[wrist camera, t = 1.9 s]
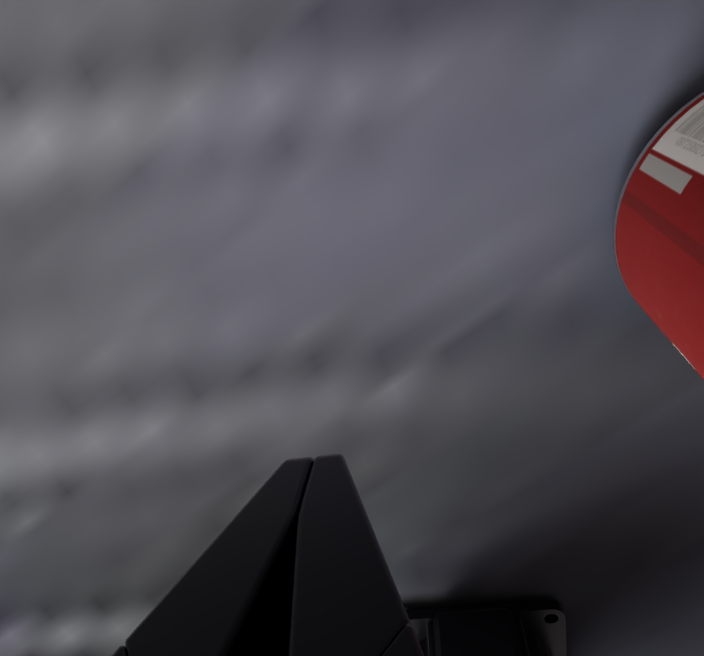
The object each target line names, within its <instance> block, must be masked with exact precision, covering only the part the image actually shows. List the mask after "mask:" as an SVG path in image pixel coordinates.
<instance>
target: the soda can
mask: <svg viewBox="0 0 704 656" xmlns="http://www.w3.org/2000/svg"><path fill="white" fill-rule="evenodd" d="M613 241H614V253H615V258H616V263H617V266H618V270H619V273H620V275H621V278H622V280H623V282H624V284H625V286H626V288H627V289H628V291H629V293H630V294H631V295H632V297H633V298H634V299H635V301H636V302H637V303H638V304H639V305H640V307H641V308H642V309H643V310H644V311H645V312H646V314H647V315H648V316H649V317H650V318H651V319H652V320H653V322H654V323H655V324H656V325H657V326H658V327H659V329H660V330H661V331H662V332H663V333H664V334H665V335H666V337H667V338H668V339H669V340H670V341H671V342H672V344H673V345H674V346H675V347H676V348H677V349H678V350H679V352H680V353H681V354H682V355H683V356H684V357H685V359H686V360H687V361H688V362H689V363H690V364H691V365H692V367H693V368H694V369H695V370H696V371H697V372H698V374H699V375H700V376H701V377H702V378H703V379H704V92H702V93H701V94H699V95H698V96H696V97H695V98H694V99H692V100H691V101H690V102H688V103H687V104H686V105H684V106H683V107H682V108H681V109H680V110H678V111H677V112H676V113H675V114H674V115H673V116H672V117H671V118H670V119H668V121H667V122H666V123H665V124H664V125H663V126H662V127H661V128H660V129H659V130H658V131H657V132H656V133H655V135H654V136H653V137H652V138H651V140H650V141H649V142H648V143H647V145H646V146H645V148H644V149H643V150H642V152H641V153H640V155H639V156H638V158H637V160H636V161H635V163H634V165H633V167H632V169H631V170H630V172H629V174H628V177H627V179H626V181H625V183H624V186H623V188H622V191H621V194H620V197H619V200H618V204H617V208H616V213H615V220H614V232H613Z"/></svg>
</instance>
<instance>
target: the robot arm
mask: <svg viewBox="0 0 704 656" xmlns="http://www.w3.org/2000/svg"><path fill="white" fill-rule="evenodd" d="M112 656H567V646H566V617H565V614H564V610H563V607H562V604H560V603H559V602H558V601H555V600H538V601H525V602H511V603H498V604H484V605H471V606H457V607H444V608H431V609H417V610H405V608H404V605H403V603H402V600H401V598H400V595H399V593H398V590H397V588H396V585H395V583H394V580H393V578H392V576H391V573H390V571H389V568H388V566H387V563H386V561H385V558H384V556H383V553H382V551H381V548H380V546H379V543H378V541H377V538H376V536H375V533H374V531H373V528H372V526H371V524H370V521H369V519H368V516H367V514H366V511H365V509H364V506H363V504H362V501H361V499H360V496H359V494H358V491H357V489H356V486H355V484H354V481H353V479H352V476H351V474H350V472H349V469H348V467H347V464H346V462H345V459H344V457H343V456H342V455H341V454H334V455H325V456H318V457H316V458H315V459H313V458H311V457H307V458H297V459H289V460H286V461H285V462H284V463H282V465H281V466H280V467H279V468H278V469H277V470H276V471H275V473H274V474H273V475H272V476H271V477H270V478H269V479H268V480H267V482H266V483H265V484H264V485H263V486H262V487H261V488H260V489H259V491H258V492H257V493H256V494H255V495H254V496H253V497H252V498H251V500H250V501H249V502H248V503H247V504H246V505H245V506H244V507H243V509H242V510H241V511H240V512H239V513H238V514H237V515H236V516H235V518H234V519H233V520H232V521H231V522H230V523H229V524H228V526H227V527H226V528H225V529H224V530H223V531H222V532H221V533H220V535H219V536H218V537H217V538H216V539H215V540H214V541H213V542H212V544H211V545H210V546H209V547H208V548H207V549H206V550H205V551H204V553H203V554H202V555H201V556H200V557H199V558H198V559H197V560H196V562H195V563H194V564H193V565H192V566H191V567H190V568H189V569H188V571H187V572H186V573H185V574H184V575H183V576H182V577H181V579H180V580H179V581H178V582H177V583H176V584H175V585H174V586H173V588H172V589H171V590H170V591H169V592H168V593H167V594H166V595H165V597H164V598H163V599H162V600H161V601H160V602H159V603H158V604H157V606H156V607H155V608H154V609H153V610H152V611H151V612H150V613H149V615H148V616H147V617H146V618H145V619H144V620H143V621H142V623H141V624H140V625H139V626H138V627H137V628H136V629H135V630H134V632H133V633H132V634H131V635H130V636H129V637H128V638H127V639H126V641H125V646H120V647H119V648H118V649H117V650H116V651H115V653H114V654H113V655H112Z"/></svg>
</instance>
